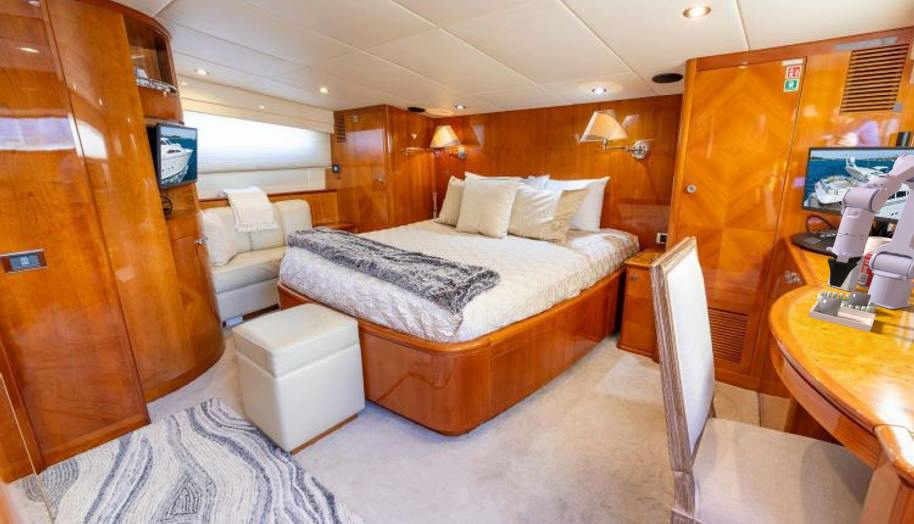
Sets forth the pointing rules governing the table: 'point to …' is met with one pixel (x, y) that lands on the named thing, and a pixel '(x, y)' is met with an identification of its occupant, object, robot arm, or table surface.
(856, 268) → the skincare box
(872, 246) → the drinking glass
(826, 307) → the pebble slate
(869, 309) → the celadon bowl
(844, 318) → the parts tray
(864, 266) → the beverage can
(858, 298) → the pebble charcoal
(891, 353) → the table surface
